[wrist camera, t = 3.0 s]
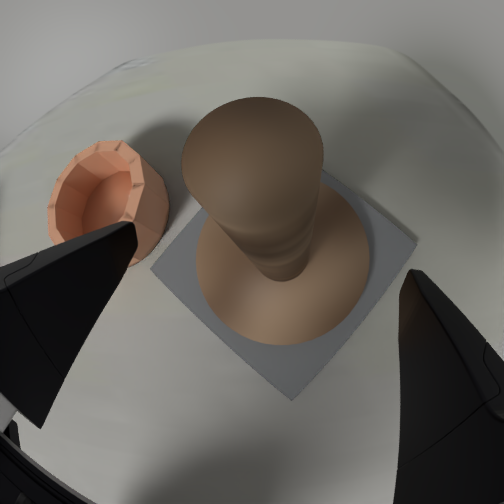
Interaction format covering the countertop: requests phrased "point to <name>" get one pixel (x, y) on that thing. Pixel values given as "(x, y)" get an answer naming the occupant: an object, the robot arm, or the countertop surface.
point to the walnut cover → (272, 224)
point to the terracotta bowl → (109, 196)
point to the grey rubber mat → (307, 353)
